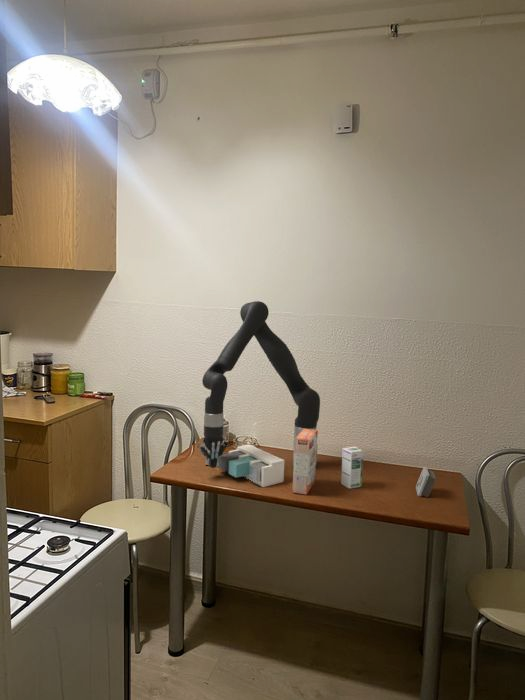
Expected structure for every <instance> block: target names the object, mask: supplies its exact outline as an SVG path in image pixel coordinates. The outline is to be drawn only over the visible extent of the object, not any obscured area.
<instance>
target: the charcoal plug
mask: <svg viewBox="0 0 525 700" xmlns="http://www.w3.org/2000/svg"><path fill="white" fill-rule="evenodd" d="M240 455H245V454H243V453H241V452H234V453H229V452H228V453H226V454H222V455H221V456H218V466H217V467H218V469H220V470H222V471H223V472H229V461H232V460H236V459H239V456H240Z"/></svg>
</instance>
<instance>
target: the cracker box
mask: <svg viewBox="0 0 525 700" xmlns="http://www.w3.org/2000/svg"><path fill="white" fill-rule="evenodd" d="M318 434H319V432H318V430H311V429H303V430H302V431H301V432H300V434H299V435H298V436H297V437H296V439H295V456H294V466H293V476H292V491H291V492H292V494H293V493H295V494H297V495H298V494H300V495H303V496H304V495H306V496H307V495H308V493H309V492H310V490H311V488H312V486H313V485H314V483H315V477H316V476H315V475H316V466H317V464H316V449H317V450H318ZM315 465H316V466H315Z"/></svg>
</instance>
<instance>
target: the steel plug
mask: <svg viewBox="0 0 525 700" xmlns="http://www.w3.org/2000/svg"><path fill="white" fill-rule="evenodd" d="M264 466H269V464H266V463H264V462H260V463H255V464H251V465H249V475H248V478H250V479H252V480H254V481H256V482H258V481H261V469H262V467H264Z"/></svg>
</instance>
